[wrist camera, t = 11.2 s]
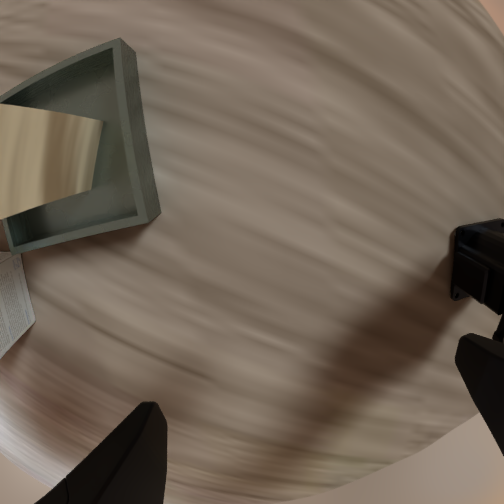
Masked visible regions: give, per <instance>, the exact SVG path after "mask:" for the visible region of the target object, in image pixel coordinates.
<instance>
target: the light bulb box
mask: <svg viewBox="0 0 504 504" xmlns="http://www.w3.org/2000/svg"><path fill="white" fill-rule="evenodd" d="M35 321H36V319H35V315H34V312H33V308H32V304H31V300H30V296H29V292H28V288H27V283H26V279H25V274H24V269H23V264H22V259H21V253H19V254H16V255H11V252H0V359H1V358H2V357H3V355H4V354H5V353H6V352H7V351H8V350H9V349H10V348H11V347H12V345H13V344H14V343H15V342H16V341H17V340H18V339H19V338H20V337H21V336H22V335H23V334H24V333H25V332H26V331H27V330H28V329H29V328H30V326H31V325H32V324H33V323H34V322H35Z"/></svg>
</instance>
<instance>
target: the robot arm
mask: <svg viewBox="0 0 504 504" xmlns="http://www.w3.org/2000/svg"><path fill="white" fill-rule="evenodd" d="M461 231H462V233H461ZM469 296H471V297H472V298H474V299H475V300H476V301H478V302H479V303H480V304H484V305H486V306H487V307H488V308H490V309H491V310H492V311H494V312H495V313H496V314H497V315H501V314H502V317H501V319H500V322H499V325H498V327H497V330H496V331H495V332H494V335H493V337H492V339H493V340H492V339H489V338H486V337H483V336H480V335H477V334H474V333H469V334H467V335H464V336H462V337H461V338H460V339H459V343H458V347H457V351H456V355H455V363H456V366H457V368H458V370H459V372H460V374H461V376H462V378H463V380H464V382H465V384H466V387H467V389H468V391H469V393H470V395H471V397H472V399H473V401H474V403H475V405H476V407H477V408H478V410H479V412H480V413H481V415H482V417H483V418H484V420H485V422H486V424H487V426H488V428H489V429H490V431H491V433H492V435H493V437H494V439H495V440H496V442H497V444H498V446H499V448H500V450H501V452H502V454H503V456H504V219H501V218H499V219H494V220H489V221H484V222H478V223H473V224H468V225H463V226H459V227H458V228H457V229H456V235H455V253H454V266H453V277H452V286H451V294H450V297H451V299H453V300H454V301H457V300H460V299H463V298H466V297H469ZM166 475H167V421H166V419H165V417H164V415H163V413H162V411H161V409H160V407H159V405H158V404H157V403H156V402H154V401H150V402H142V403H140V404H139V405H138V406H137V407H136V408H135V409H134V410H133V411H132V412H131V413H130V414H129V415H128V416H127V417H126V418H125V419H124V420H123V421H122V422H121V423H120V424H119V425H118V426H117V427H116V428H115V429H114V430H113V431H112V432H111V433H110V434H109V435H108V436H107V437H106V438H105V439H104V440H103V441H102V442H101V443H100V444H99V445H98V446H97V447H96V448H95V449H94V450H93V451H92V452H91V453H90V454H89V455H88V456H87V457H86V458H85V459H83V460H82V461H81V462H80V463H79V464H78V465H77V466H76V467H75V468H74V469H73V470H72V471H71V472H70V473H69V474H68V475H67V476H66V478H64V479H62V480H61V481H60V482H59V483H58V484H57V485H56V486H55V487H54V488H53V489H52V490H51V491H49V492H48V493H47V494H46V495H45V496H44V497H42V498H41V499H40V500H38V501H37V502H36V503H34V504H163V500H164V492H165V484H166Z"/></svg>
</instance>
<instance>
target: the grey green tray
mask: <svg viewBox="0 0 504 504" xmlns="http://www.w3.org/2000/svg"><path fill="white" fill-rule="evenodd" d="M0 104H6V105H14V106H22V107H29V108H36V109H42V110H48V111H54V112H60V113H65V114H71V115H76V116H81V117H86V118H91V119H96V120H101V121H104V122H103V126H102V131H101V135H100V140H99V145H98V150H97V156H96V161H95V167H94V173H93V180H92V187H91V190H88V191H85V192H81V193H78V194H75V195H71V196H68V197H65V198H62V199H58V200H55V201H52V202H49V203H46V204H43V205H40V206H37V207H34V208H31V209H29V210H26V211H23V212H20V213H17V214H15V215H12V216H9V217H7V218H4V219H2V222H3V226H4V230H5V234H6V238H7V241H8V245H9V248H10V252H11V255H16V254H19V253H23V252H27V251H30V250H34V249H38V248H42V247H46V246H50V245H54V244H58V243H62V242H66V241H70V240H74V239H78V238H82V237H86V236H91V235H95V234H99V233H103V232H108V231H112V230H117V229H121V228H126V227H131V226H135V225H140V224H145V223H149V222H150V221H151V220H153V219H154V218H155V217H156V216H158V215H159V214H160V213H161V209H160V204H159V199H158V194H157V189H156V184H155V179H154V174H153V169H152V164H151V158H150V152H149V147H148V141H147V135H146V129H145V122H144V116H143V109H142V102H141V94H140V87H139V78H138V70H137V61H136V52H135V51H134V50H133V49H132V48H131V47H129V46H128V45H127V44H126V43H125V42H124V41H123V40H122V39H121V38H117V39H114V40H112V41H109V42H106V43H104V44H101V45H99V46H96V47H93V48H91V49H89V50H86V51H84V52H82V53H79V54H77V55H75V56H72V57H70V58H68V59H66V60H64V61H62V62H60V63H58V64H56V65H54V66H52V67H50V68H48V69H46V70H44V71H42V72H40V73H38V74H36V75H35V76H33V77H31V78H29V79H28V80H26V81H24V82H22V83H21V84H19V85H17V86H16V87H14V88H12V89H11V90H9V91H8V92H6V93H5V94H3V95H1V96H0Z"/></svg>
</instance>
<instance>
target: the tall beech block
mask: <svg viewBox="0 0 504 504" xmlns="http://www.w3.org/2000/svg"><path fill="white" fill-rule="evenodd" d="M103 122H104V121H101V120H96V119H91V118H86V117H81V116H76V115H71V114H65V113H60V112H54V111H48V110H42V109H36V108H29V107H22V106H14V105H6V104H0V220H1V219H4V218H7V217H9V216H12V215H15V214H17V213H20V212H23V211H26V210H29V209H31V208H34V207H37V206H40V205H43V204H46V203H49V202H52V201H55V200H58V199H62V198H65V197H68V196H71V195H75V194H78V193H81V192H85V191H88V190H91V187H92V180H93V173H94V167H95V161H96V156H97V150H98V145H99V140H100V135H101V131H102V126H103Z"/></svg>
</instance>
